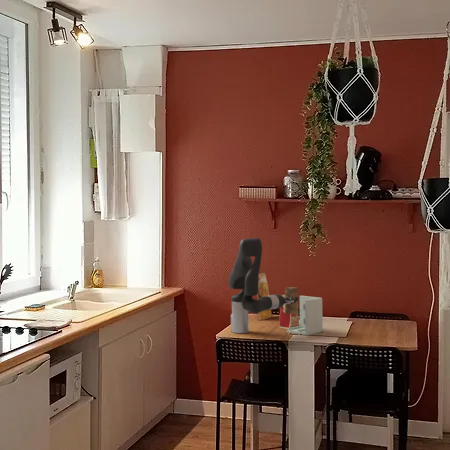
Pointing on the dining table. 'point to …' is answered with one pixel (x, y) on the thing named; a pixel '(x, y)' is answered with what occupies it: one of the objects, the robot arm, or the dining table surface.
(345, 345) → the dining table surface
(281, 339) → the dining table surface
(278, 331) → the dining table surface
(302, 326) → the cabinet frame
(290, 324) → the red cream food bag
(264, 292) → the pancake mix bag
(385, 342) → the dining table surface
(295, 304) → the brown wooden block
